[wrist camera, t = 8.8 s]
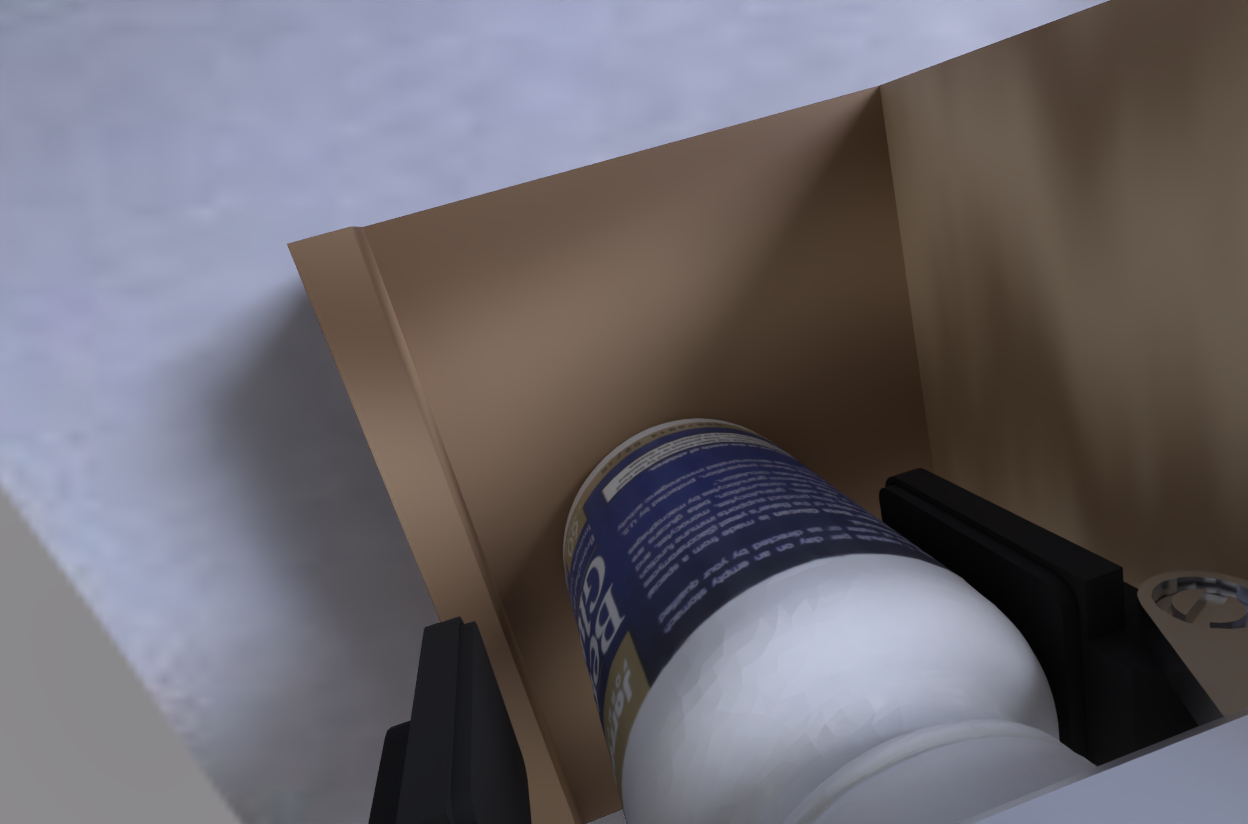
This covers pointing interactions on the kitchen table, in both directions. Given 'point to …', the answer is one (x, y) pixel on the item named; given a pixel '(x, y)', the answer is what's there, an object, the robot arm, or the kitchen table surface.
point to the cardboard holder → (828, 327)
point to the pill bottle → (790, 648)
